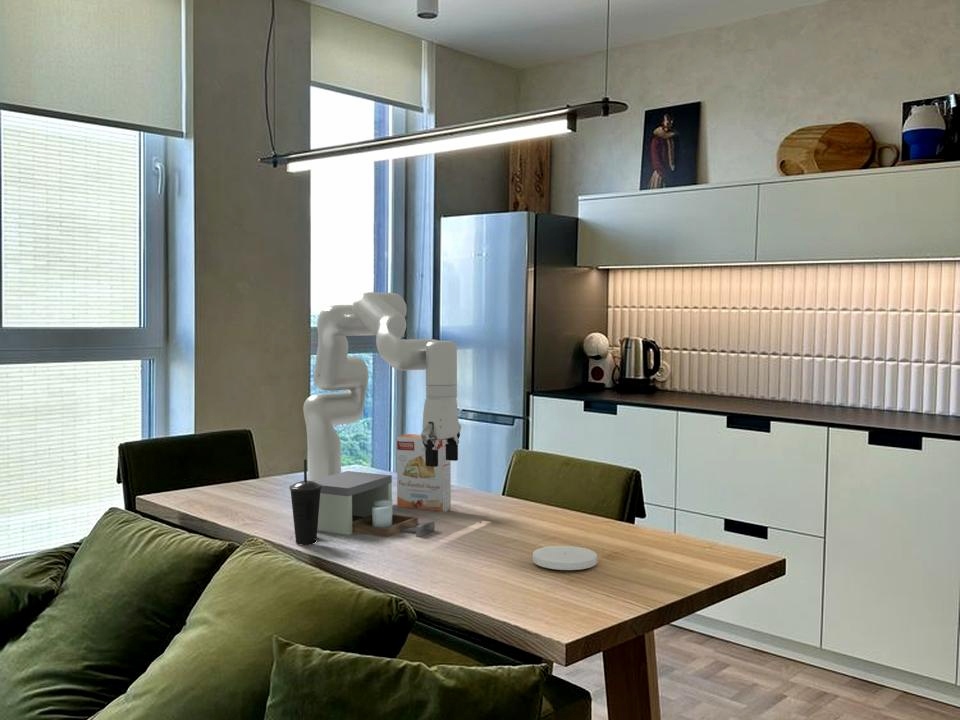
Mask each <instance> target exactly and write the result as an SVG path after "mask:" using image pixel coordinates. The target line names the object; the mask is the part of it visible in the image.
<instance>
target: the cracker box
mask: <svg viewBox="0 0 960 720" xmlns="http://www.w3.org/2000/svg"><path fill="white" fill-rule="evenodd" d="M432 443H434V441H432ZM446 444H448V443H447V441H446V439H445V440H440V441H439V443H438V446H437V448H436V450H438V466H437V467H432V466H426V463H425V449H424V444H423V440H422V437H421V434H414V433H405V434H400V435H398V436H397V437H396V475H397V476H396V494H397V495H396V497H397V498H396V500H397V501H396V505H397V507H399V508H406V509H407V508H408V509H419V510H430V511H440V512H447V513H448V512H450V511H451V507H452V505H451V503H452V502H451V501H452V500H451V498H452V494H451V492H452V491H451V489H452V488H451V485H452V484H451V478H452V477H451V475H452V473H451V469H452V468H451V467H452V466H451V464H452V463H451V462H452V461H451V460H446Z"/></svg>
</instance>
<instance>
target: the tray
mask: <svg viewBox="0 0 960 720" xmlns="http://www.w3.org/2000/svg"><path fill="white" fill-rule="evenodd" d="M435 522H436V521H435V520H428V521H427V522H423V523H421V524H419V518H418V517H415V516H408V515H402V514H394V513H393V524H392V526H391V527H388V528H380V527H372V515H370V516H367V517H362V518H359V519H356V520H352V533H356V534H361V535H362V534H363V535H368V536H376V537H377V536H378V537H384V538H388V537H391V536H393V535H395V534H398V533H400V532H401V533H407V534H415V537H416V538H420V537H423V536H425V535H428V534H430V533H432V532H435V529H436V527H435ZM418 524H419V525H418ZM413 527H415V528H413Z"/></svg>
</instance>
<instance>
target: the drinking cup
mask: <svg viewBox="0 0 960 720" xmlns="http://www.w3.org/2000/svg"><path fill="white" fill-rule="evenodd" d="M321 488H322V485H321V484H318V483H316V482H313V481H308V459H303V480H300V481H297V482H295V483H293V484H291V485H290V486H289V487H288V489H289V490H290V498H291V507H292V508H291V509H292V517H293V527H294V538H295V544H296V543H297V544H296V545H298V544H302V545H301V546H309V544H311V545H314V544H313V543H315V542H316V543H317V538H318V530H317V529H318V516H319V503H320V491H321ZM316 543H315V544H316Z"/></svg>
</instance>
